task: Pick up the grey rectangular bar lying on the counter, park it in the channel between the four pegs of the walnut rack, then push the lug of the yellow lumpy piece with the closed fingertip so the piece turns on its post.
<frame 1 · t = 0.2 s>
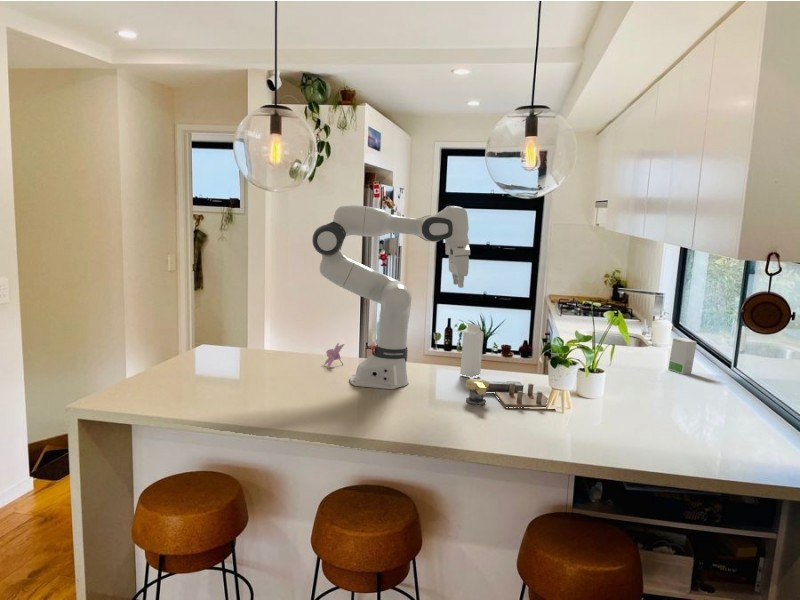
hand: (458, 285, 216), 39 cm above the worktop, tool pointing down, fingers open, 8 cm apart
yellow lumpy piece: (478, 385, 198), point 6 cm above the worktop, hinge at 0.0°
lily: (333, 366, 239), on the worktop
milk: (469, 377, 234), on the worktop
grey rectangular bar: (497, 393, 214), on the worktop
nut post: (475, 402, 201), on the worktop
peg rack: (524, 402, 204), on the worktop
skincare box: (680, 372, 266), on the worktop
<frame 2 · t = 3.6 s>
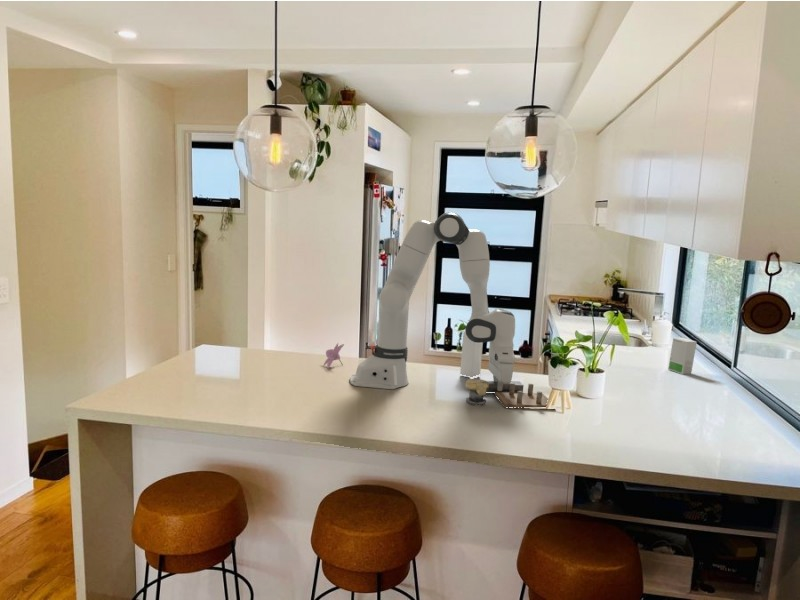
hand: (497, 388, 214), 2 cm above the worktop, tool pointing down, fingers closed on grey rectangular bar, 3 cm apart
grey rectangular bar: (497, 392, 214), on the worktop, touching gripper
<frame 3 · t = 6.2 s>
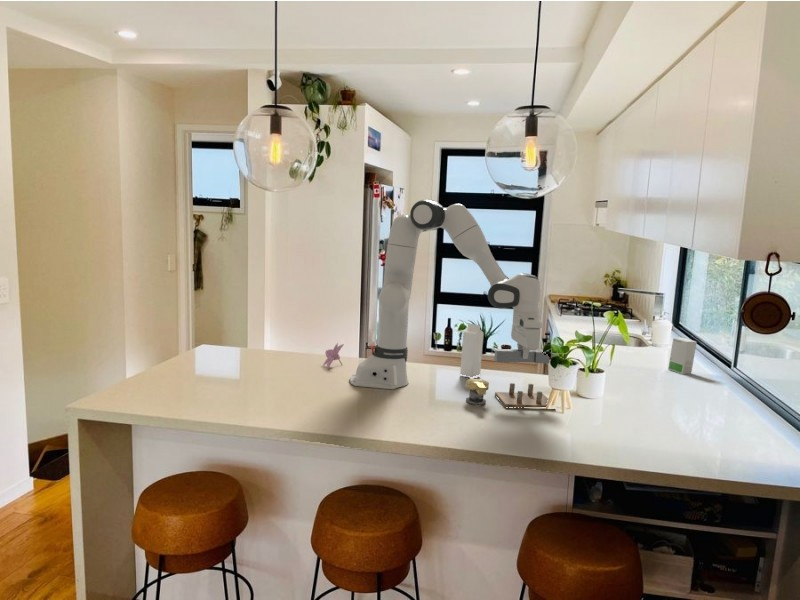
hand: (522, 357, 205), 16 cm above the worktop, tool pointing down, fingers closed on grey rectangular bar, 3 cm apart
grey rectangular bar: (522, 361, 205), point 14 cm above the worktop, touching gripper
everything else where it was.
when the fingers open (4 cm above the worktop, at t = 8.8 s): grey rectangular bar drops 1 cm, resting on peg rack.
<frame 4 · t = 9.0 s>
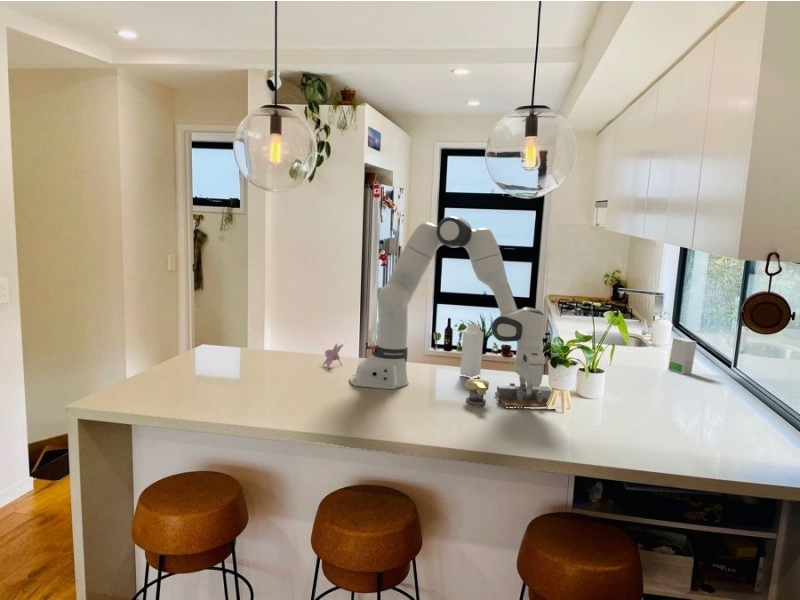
hand: (525, 391, 203), 4 cm above the worktop, tool pointing down, fingers open, 5 cm apart
grey rectangular bar: (524, 398, 204), point 1 cm above the worktop, touching peg rack
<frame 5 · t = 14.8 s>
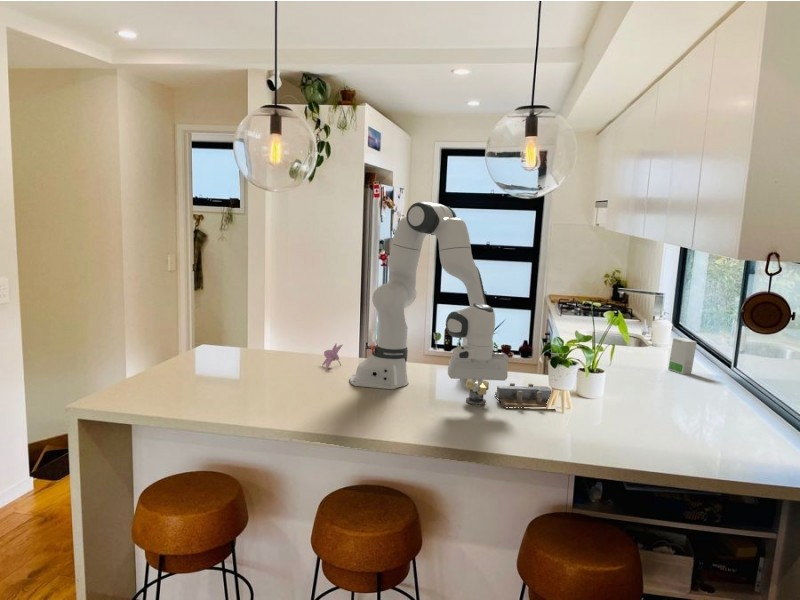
hand: (476, 391, 194), 6 cm above the worktop, tool pointing down, fingers closed, pressing on yellow lumpy piece
yellow lumpy piece: (478, 385, 198), point 6 cm above the worktop, hinge at 0.9°, touching gripper
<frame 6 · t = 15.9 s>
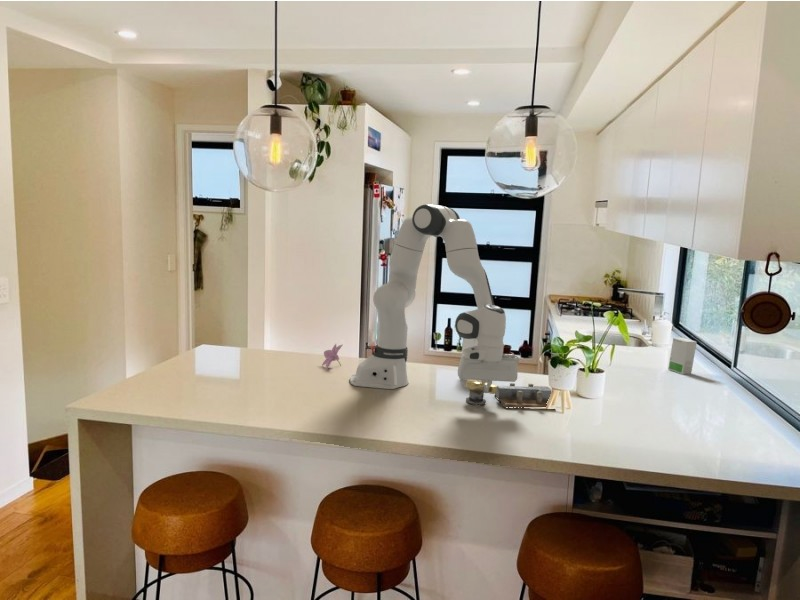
hand: (485, 392, 195), 5 cm above the worktop, tool pointing down, fingers closed, pressing on yellow lumpy piece
yellow lumpy piece: (481, 385, 199), point 7 cm above the worktop, hinge at 35.8°, touching gripper
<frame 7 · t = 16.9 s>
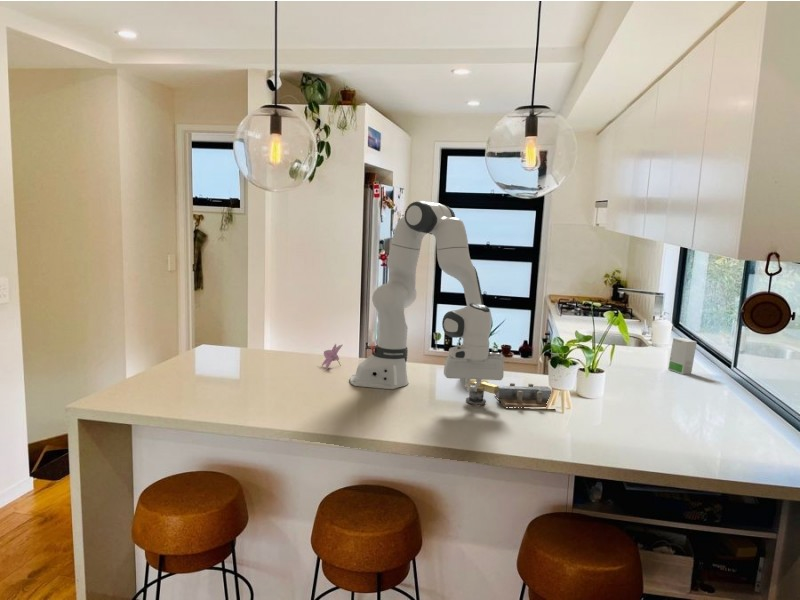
hand: (472, 391, 194), 6 cm above the worktop, tool pointing down, fingers closed
yellow lumpy piece: (481, 385, 199), point 6 cm above the worktop, hinge at 41.0°
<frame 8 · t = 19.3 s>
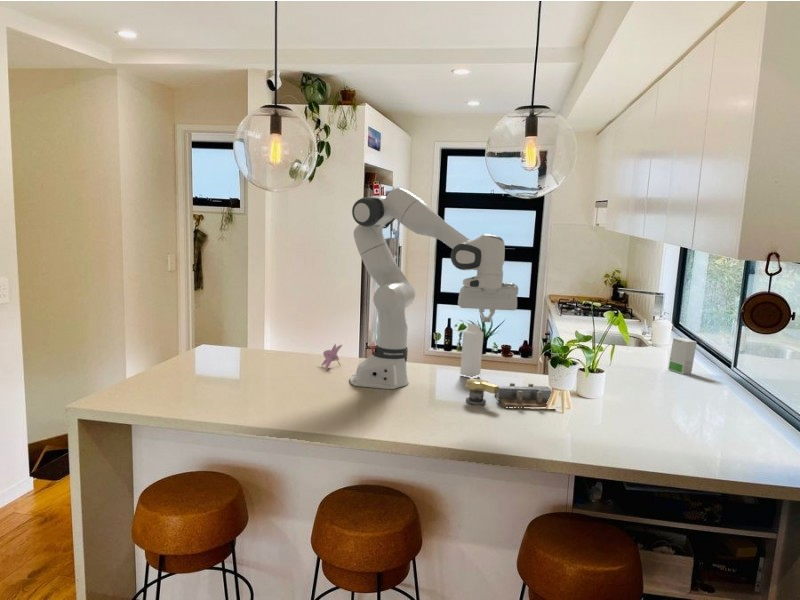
hand: (486, 321, 196), 29 cm above the worktop, tool pointing down, fingers closed
at the end: grey rectangular bar inside the target area on the peg rack (0.0 cm from its centre), point 1.5 cm above the peg rack's base; the gripper is holding nothing; yellow lumpy piece at +41° (first picture: +0°) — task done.
